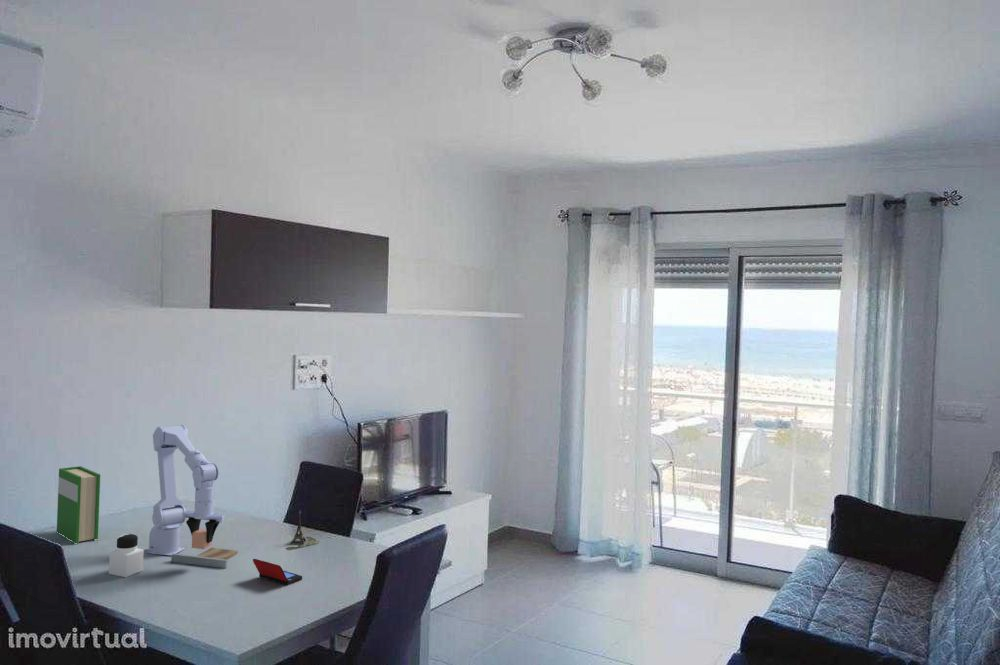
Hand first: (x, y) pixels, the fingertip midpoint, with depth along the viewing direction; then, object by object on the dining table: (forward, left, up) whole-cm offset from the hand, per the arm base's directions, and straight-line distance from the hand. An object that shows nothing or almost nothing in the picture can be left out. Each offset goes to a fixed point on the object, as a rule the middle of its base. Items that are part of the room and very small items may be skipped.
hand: (202, 541), depth 248 cm
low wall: (-2, +2, -9) cm, 9 cm away
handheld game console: (+29, -3, -9) cm, 30 cm away
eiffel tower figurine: (+18, +34, -10) cm, 40 cm away
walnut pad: (-1, +11, -9) cm, 14 cm away
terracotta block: (0, 0, -2) cm, 2 cm away
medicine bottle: (-19, -12, -9) cm, 24 cm away
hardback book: (-59, +14, -9) cm, 61 cm away
